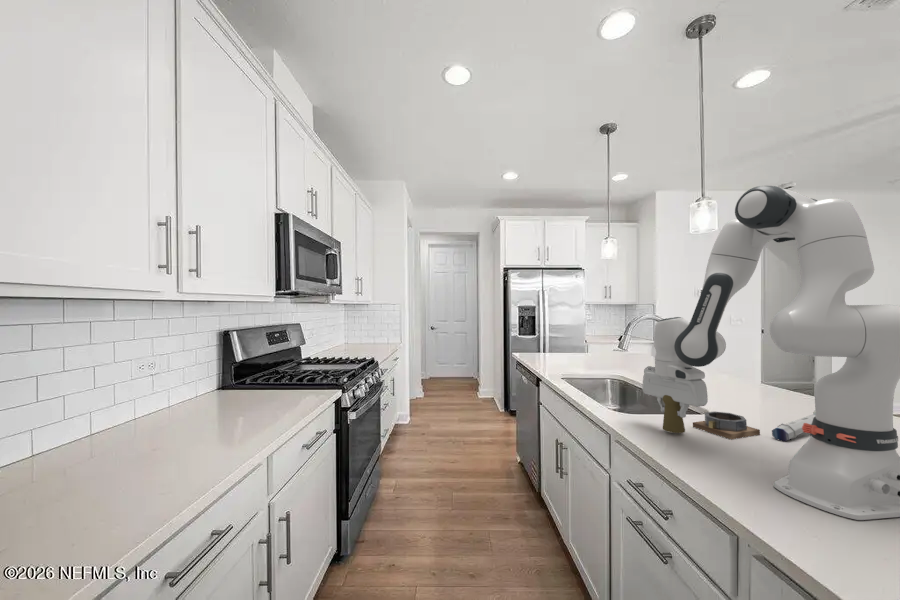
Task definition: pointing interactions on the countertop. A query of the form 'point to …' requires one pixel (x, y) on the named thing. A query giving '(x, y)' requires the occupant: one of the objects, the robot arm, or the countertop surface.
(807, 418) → the grey and blue bar
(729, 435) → the base plate
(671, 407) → the cork
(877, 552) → the countertop surface
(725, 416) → the collar
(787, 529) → the countertop surface
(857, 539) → the countertop surface
